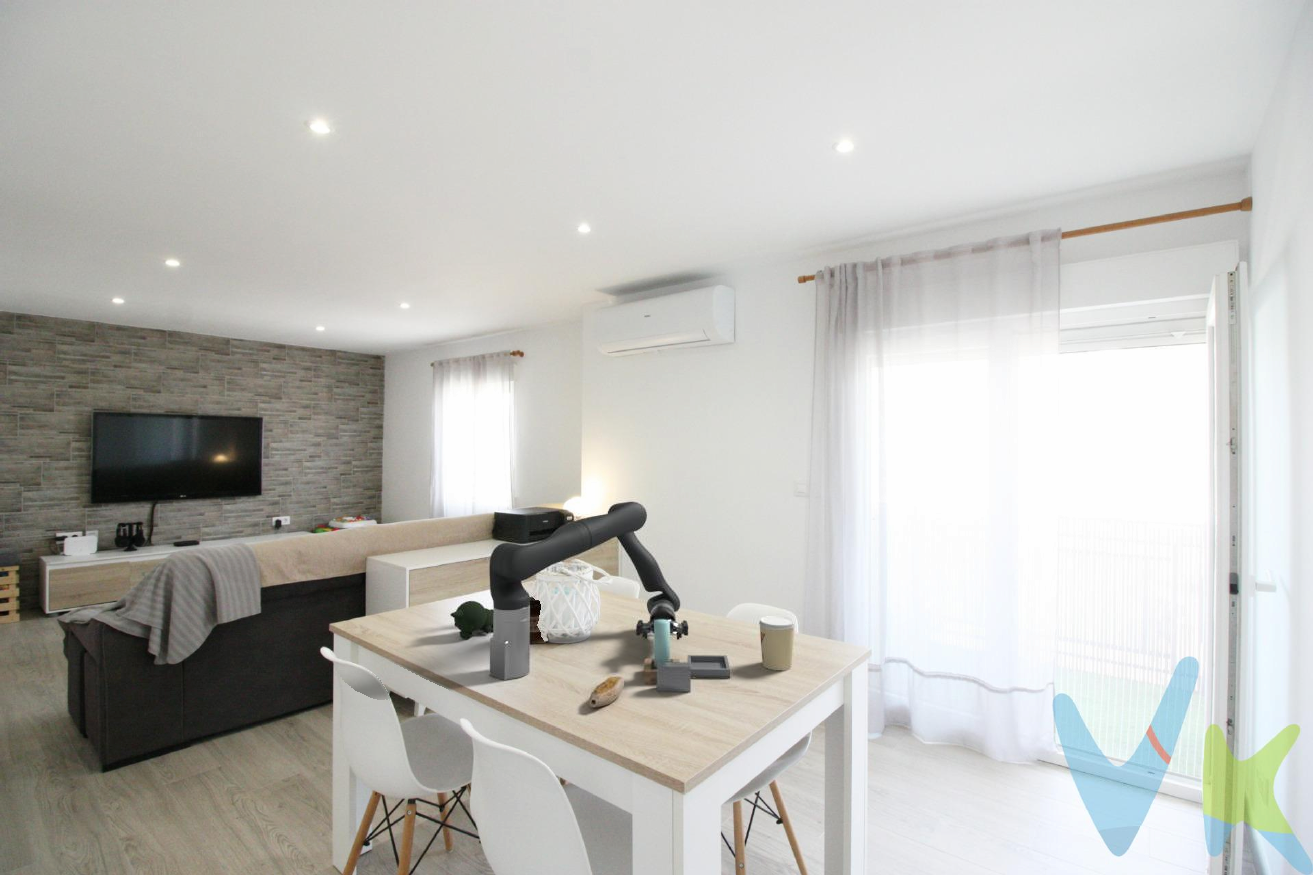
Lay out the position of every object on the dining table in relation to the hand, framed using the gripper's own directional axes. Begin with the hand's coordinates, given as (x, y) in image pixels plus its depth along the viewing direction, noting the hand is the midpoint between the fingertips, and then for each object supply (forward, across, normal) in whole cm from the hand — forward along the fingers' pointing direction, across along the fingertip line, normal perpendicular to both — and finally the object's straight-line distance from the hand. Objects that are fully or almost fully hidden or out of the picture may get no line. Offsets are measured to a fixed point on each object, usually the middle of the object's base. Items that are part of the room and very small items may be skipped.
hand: (662, 635), depth 159 cm
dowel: (+6, 0, +8) cm, 11 cm away
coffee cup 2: (-3, +31, +9) cm, 32 cm away
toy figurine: (-29, -57, +9) cm, 65 cm away
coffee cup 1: (-22, -38, +9) cm, 44 cm away
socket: (+6, 0, +8) cm, 11 cm away
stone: (+21, -12, +9) cm, 26 cm away
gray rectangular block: (+14, +3, +8) cm, 17 cm away
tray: (+1, +12, +8) cm, 15 cm away
